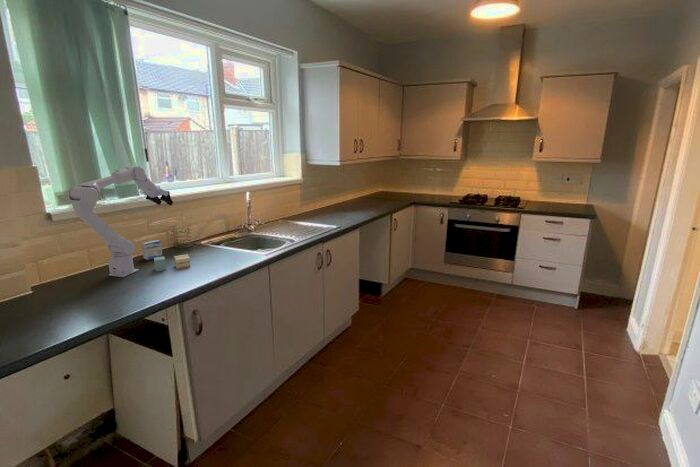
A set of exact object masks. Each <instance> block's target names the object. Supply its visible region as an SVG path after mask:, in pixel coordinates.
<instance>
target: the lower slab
mask: <svg viewBox="0 0 700 467" xmlns="http://www.w3.org/2000/svg"><path fill="white" fill-rule="evenodd" d="M174 265H175V268H176V270H178V269H183V268H184V269H185V268H190V267H191V262H190V263H184V264H177V265H176V262H175V261H174Z"/></svg>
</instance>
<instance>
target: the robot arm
mask: <svg viewBox="0 0 700 467" xmlns="http://www.w3.org/2000/svg"><path fill="white" fill-rule="evenodd" d="M145 172H146V171H145V169H144V168H142V167H141V166H135V165H133V166H131V165H130V166H127V165H126V167H125V168H123V169H121V168H120V169H115V170H114V171H113V172H112V173H111V175H110V176H106V177H101V178H98V179H94V180H91V181H90V180H89V181H86V182H83V183H82V182H81V183H79V184H78V185H76V186H75V185H74V186H72V187H70V188H69V190H68V195H67V200H68V201H69V202H70V203H71V205H72V208H73V211H74V213H75V215H76V216H77V217H78V218H79V219H80V220H81V221H83V222H84V223H85V225H87V226H88V227H90V229H91V230H92V231H94V232H95V233H96V234H97V235H98V236H99V237H100V238H102V239H103V240H104V241H105V243H104V244H105V245H106V246H107V249H108V250H109V251H110V252H111V254H112V255H113V256H112V257H111V258H110V259H108V260H107V261H108V262H107V265H108V270H109V274H108V276H110V277H117V278H118V277H119V278H125V277H127V276H129V275H131V274H134V273H136V272H138V271H139V268H135V267H134V260H133V259H134V258H133V252H134V251H135V244H134V242H133V241H131V240H128V239H127V238H125V237H123V236H121V235H119V234H118V233H117V232H116V231H115V230H114V229H112V228H111V226H109V225H108V224H107V223H106V222H105V221H104V220H103V219H102V218H101V217H100V216H99V215H98V214H96V213H95V211H94V208H95V206H96V204H97V202H98V199H99V194H101V192H102V189H103V188H106V187H108V186H111V185H113V184H116V185H122V184H125V183H129V182H131V181H133V182H134V183H136V185H137V186H139V188H141V189H142V194H143V195H144V196H145V200H148V201H151V202H153V203H155V204H156V205H158V206H160V205H161V204H162V202H165V203H166V204H167V205H168V206H173V203H174V201H173V200H172V198H171V194H170V193H171V192H170V191H169V190H164V189H162V188H161V186H160V185H157V184H156V183H154V182H153V181H152V180H151V178H149V177H148V175H147V174H146V173H145Z"/></svg>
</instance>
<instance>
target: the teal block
mask: <svg viewBox="0 0 700 467" xmlns="http://www.w3.org/2000/svg"><path fill="white" fill-rule="evenodd" d="M153 262H154V269H155V272H161V271H167V263H166V262H167V260H166V258H165V256H163V255H162V257H156V258H154V259H153Z"/></svg>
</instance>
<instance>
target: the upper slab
mask: <svg viewBox="0 0 700 467" xmlns="http://www.w3.org/2000/svg"><path fill="white" fill-rule="evenodd" d="M190 260H191V258H190V256H189V254H188V253H187V254H180V255H174V263H175V262H176V265H177V264H184V263H190V264H191V261H190Z"/></svg>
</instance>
